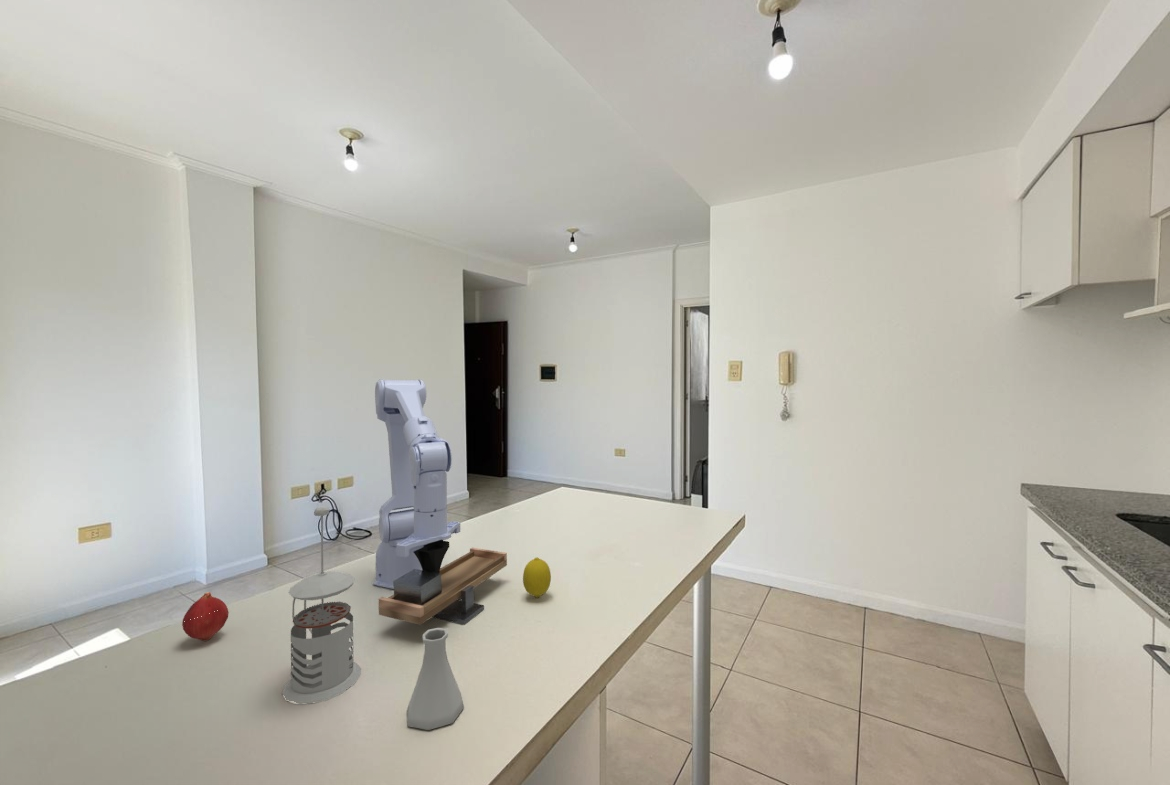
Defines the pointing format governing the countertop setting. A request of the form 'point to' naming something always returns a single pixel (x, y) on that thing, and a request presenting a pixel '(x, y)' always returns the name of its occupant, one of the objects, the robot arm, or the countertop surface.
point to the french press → (321, 637)
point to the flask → (434, 686)
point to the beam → (448, 585)
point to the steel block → (417, 587)
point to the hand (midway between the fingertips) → (431, 583)
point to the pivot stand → (461, 608)
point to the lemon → (536, 577)
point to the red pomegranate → (205, 617)
